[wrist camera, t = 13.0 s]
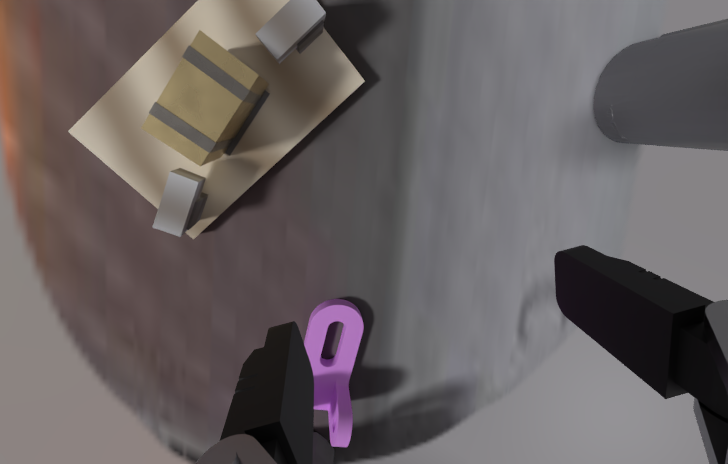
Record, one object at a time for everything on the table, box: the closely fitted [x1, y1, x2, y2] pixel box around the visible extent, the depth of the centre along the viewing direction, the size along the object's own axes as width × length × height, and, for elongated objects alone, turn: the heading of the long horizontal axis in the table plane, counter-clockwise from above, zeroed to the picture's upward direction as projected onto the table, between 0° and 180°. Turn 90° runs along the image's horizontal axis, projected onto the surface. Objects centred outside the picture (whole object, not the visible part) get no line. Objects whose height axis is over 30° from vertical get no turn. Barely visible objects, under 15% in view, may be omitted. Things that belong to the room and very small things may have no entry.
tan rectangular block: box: [141, 30, 269, 166], centre depth 25 cm, size 7×4×6 cm, turn 143°
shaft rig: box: [68, 0, 365, 239], centre depth 27 cm, size 20×12×6 cm, turn 131°
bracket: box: [304, 299, 364, 447], centre depth 35 cm, size 13×6×7 cm, turn 166°
